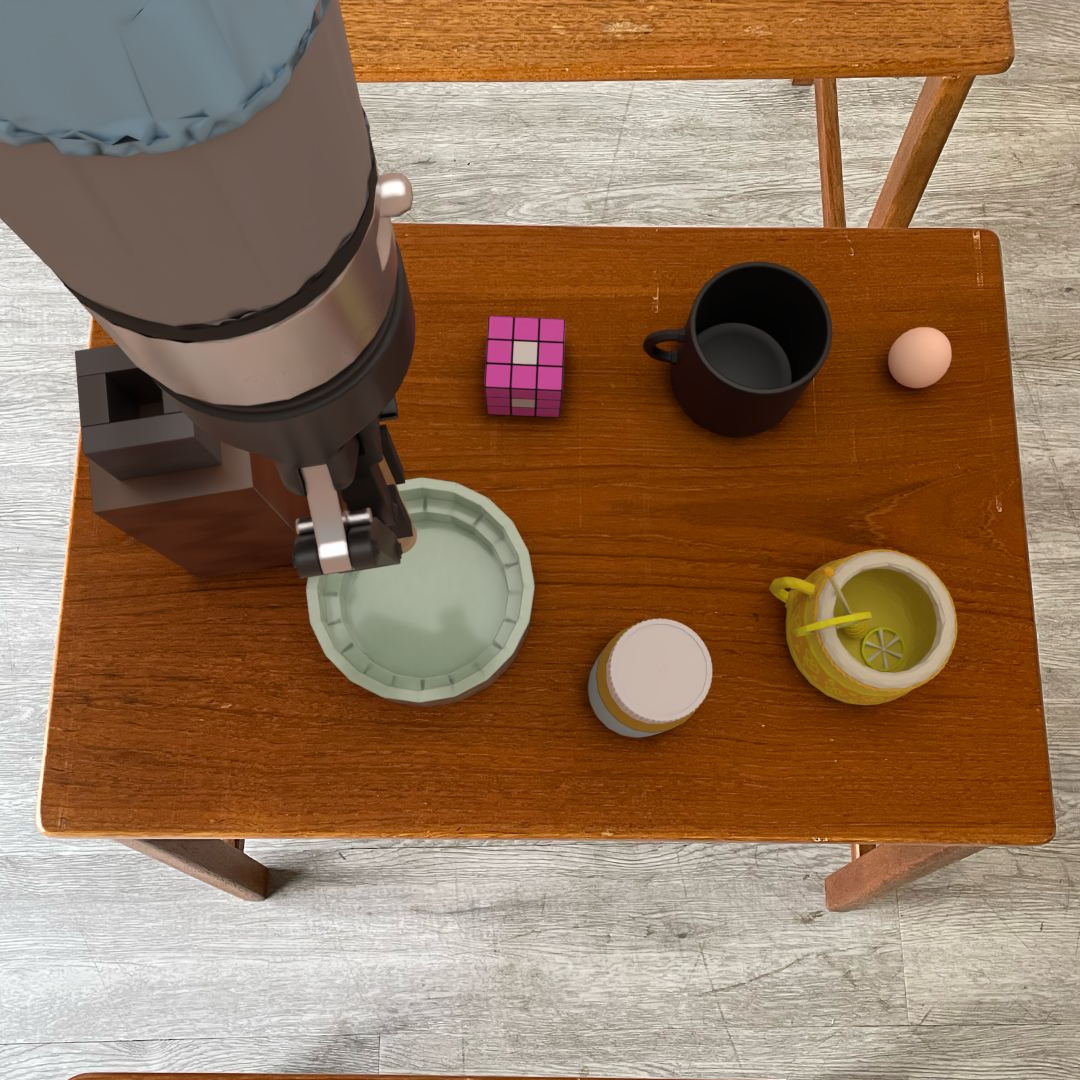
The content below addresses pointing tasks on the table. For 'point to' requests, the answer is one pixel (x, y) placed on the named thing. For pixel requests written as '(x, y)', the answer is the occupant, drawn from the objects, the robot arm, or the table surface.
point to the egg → (919, 357)
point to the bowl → (431, 603)
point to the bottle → (650, 678)
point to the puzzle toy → (524, 366)
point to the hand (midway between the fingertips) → (380, 506)
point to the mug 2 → (868, 625)
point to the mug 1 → (747, 347)
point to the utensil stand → (178, 476)
